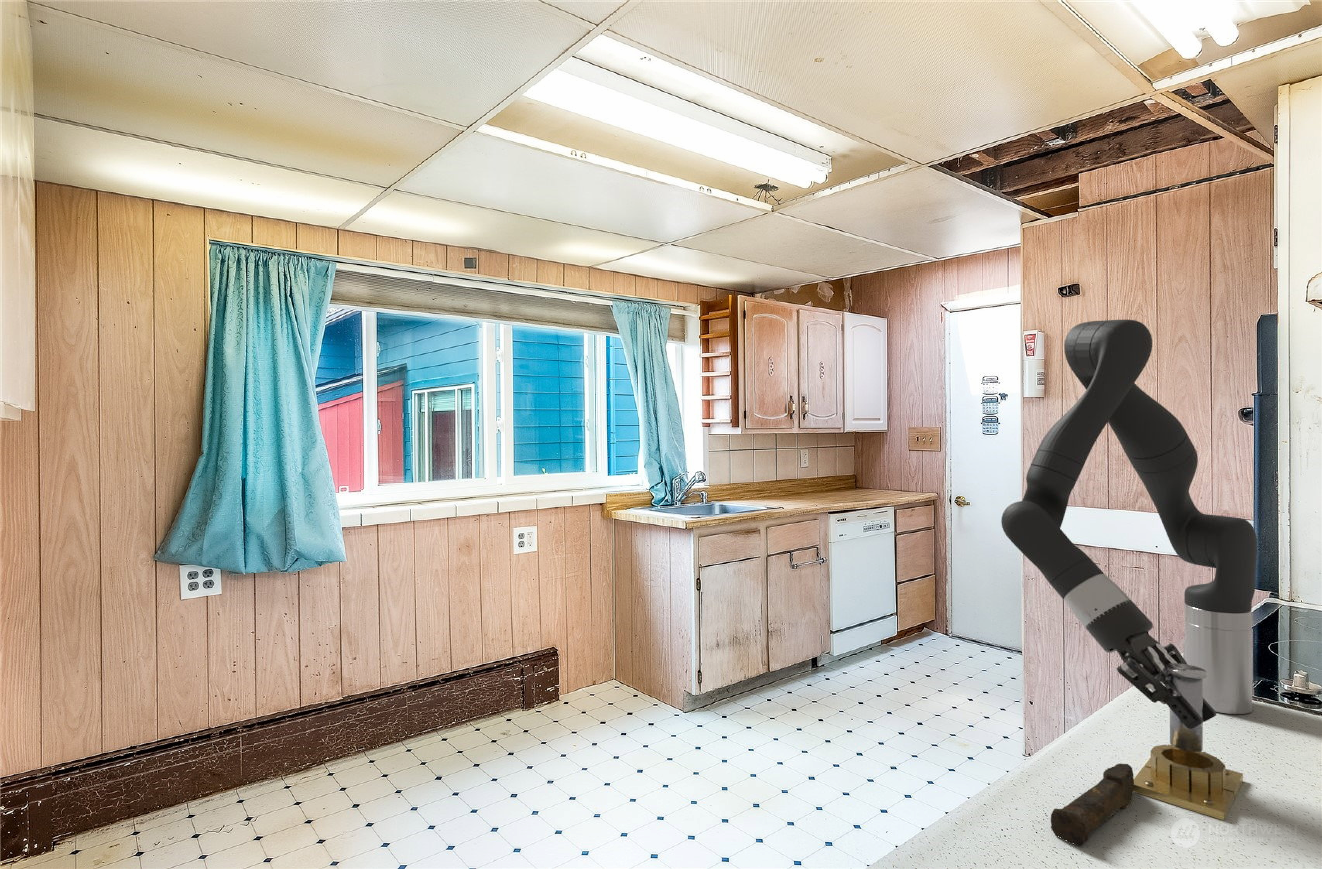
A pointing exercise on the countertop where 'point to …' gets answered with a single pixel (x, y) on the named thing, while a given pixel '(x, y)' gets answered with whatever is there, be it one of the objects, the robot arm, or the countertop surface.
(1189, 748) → the hinge pin
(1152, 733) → the countertop surface
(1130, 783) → the hand tool
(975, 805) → the countertop surface
